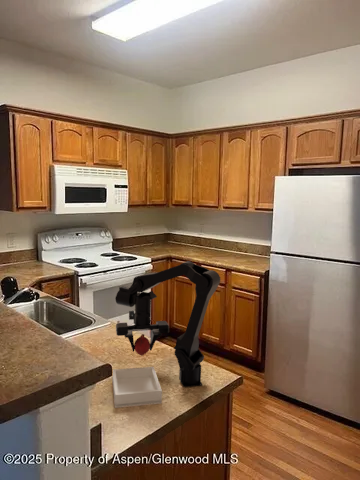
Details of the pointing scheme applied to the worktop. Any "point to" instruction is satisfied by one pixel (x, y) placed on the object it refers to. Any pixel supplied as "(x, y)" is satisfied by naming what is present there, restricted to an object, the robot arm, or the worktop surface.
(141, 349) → the onion
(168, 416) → the worktop surface
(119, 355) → the worktop surface
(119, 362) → the worktop surface
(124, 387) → the bin
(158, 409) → the worktop surface
